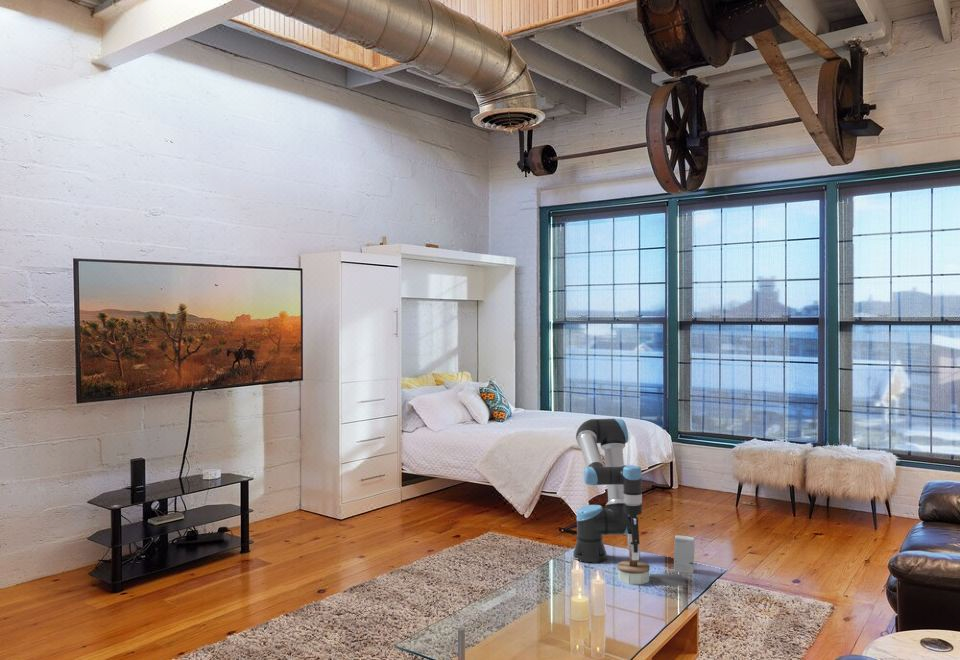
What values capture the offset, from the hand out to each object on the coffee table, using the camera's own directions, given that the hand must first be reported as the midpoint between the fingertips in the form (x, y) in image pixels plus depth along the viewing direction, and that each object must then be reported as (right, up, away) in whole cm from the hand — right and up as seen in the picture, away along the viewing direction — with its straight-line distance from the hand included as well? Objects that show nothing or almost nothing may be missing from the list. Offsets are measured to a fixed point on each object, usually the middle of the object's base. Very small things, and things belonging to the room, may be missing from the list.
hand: (633, 554), depth 298 cm
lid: (0, -6, 0) cm, 6 cm away
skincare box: (+24, -11, +10) cm, 28 cm away
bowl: (0, -11, 0) cm, 11 cm away
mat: (+14, -11, -1) cm, 18 cm away
